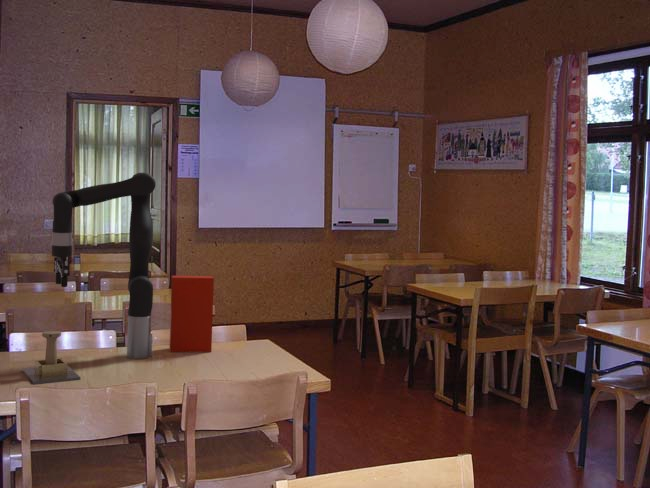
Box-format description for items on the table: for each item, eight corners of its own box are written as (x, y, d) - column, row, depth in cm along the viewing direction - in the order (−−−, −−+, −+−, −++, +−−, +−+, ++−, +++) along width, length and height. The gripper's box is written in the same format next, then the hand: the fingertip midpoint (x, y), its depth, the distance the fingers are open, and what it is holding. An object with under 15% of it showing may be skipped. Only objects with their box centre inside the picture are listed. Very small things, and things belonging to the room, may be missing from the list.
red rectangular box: (169, 348, 319) (171, 275, 316) (209, 347, 323) (212, 275, 320) (170, 352, 311) (172, 277, 308) (211, 352, 315) (213, 278, 312)
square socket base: (66, 366, 281) (66, 354, 280) (80, 379, 264) (80, 366, 264) (22, 370, 272) (22, 357, 271) (33, 384, 255) (33, 370, 255)
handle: (59, 374, 266) (59, 333, 265) (40, 374, 265) (41, 333, 264) (61, 371, 271) (61, 331, 270) (42, 371, 270) (43, 330, 268)
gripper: (76, 245, 281) (76, 287, 282) (67, 242, 293) (66, 282, 294) (56, 246, 277) (56, 288, 278) (47, 242, 289) (47, 283, 290)
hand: (61, 285), depth 286 cm, fingers open, 8 cm apart
